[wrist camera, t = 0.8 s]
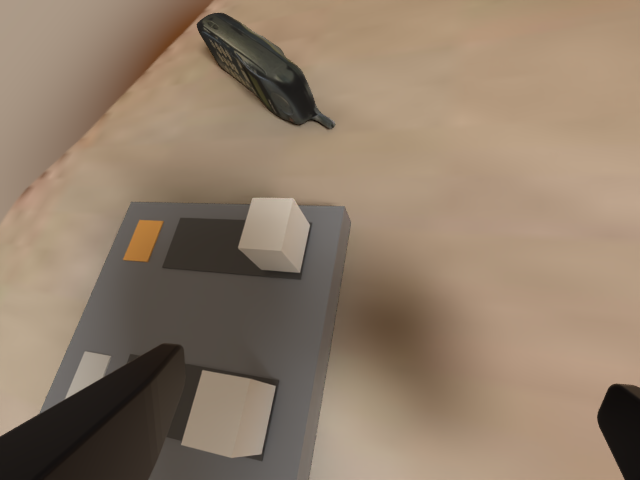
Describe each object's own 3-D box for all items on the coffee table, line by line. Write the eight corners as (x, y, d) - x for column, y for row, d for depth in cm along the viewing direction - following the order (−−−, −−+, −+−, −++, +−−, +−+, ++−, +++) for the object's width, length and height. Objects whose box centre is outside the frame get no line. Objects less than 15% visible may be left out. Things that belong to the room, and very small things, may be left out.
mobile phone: (186, 23, 32) (290, 95, 24) (214, 1, 32) (325, 65, 24) (217, 72, 36) (313, 147, 28) (241, 52, 36) (343, 121, 29)
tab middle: (261, 454, 18) (231, 457, 15) (216, 443, 18) (181, 444, 16) (275, 386, 19) (250, 378, 16) (233, 378, 20) (202, 370, 17)
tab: (299, 272, 21) (280, 250, 19) (261, 269, 22) (237, 248, 19) (310, 225, 23) (293, 198, 20) (272, 223, 23) (252, 197, 21)
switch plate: (262, 763, 15) (238, 809, 13) (-15, 617, 20) (-60, 636, 18) (351, 222, 25) (344, 205, 23) (149, 215, 30) (130, 201, 28)
